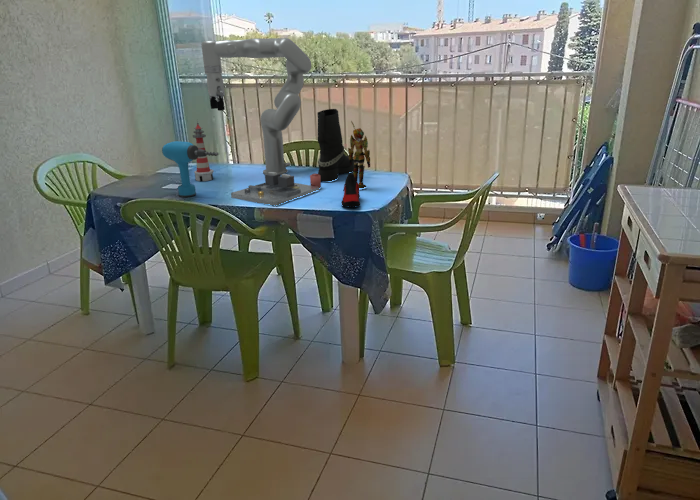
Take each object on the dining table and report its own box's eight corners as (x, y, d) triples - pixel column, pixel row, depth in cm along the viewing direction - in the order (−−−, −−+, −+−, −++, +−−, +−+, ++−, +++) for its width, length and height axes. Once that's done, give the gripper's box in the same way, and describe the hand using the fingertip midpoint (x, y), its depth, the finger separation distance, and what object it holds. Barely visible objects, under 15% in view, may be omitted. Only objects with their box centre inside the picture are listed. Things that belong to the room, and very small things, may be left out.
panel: (276, 183, 240) (275, 176, 239) (319, 191, 226) (319, 183, 225) (231, 197, 219) (230, 189, 218) (275, 206, 205) (275, 198, 203)
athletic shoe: (340, 211, 198) (340, 181, 194) (342, 197, 217) (341, 169, 213) (360, 211, 198) (360, 180, 194) (360, 196, 217) (359, 169, 213)
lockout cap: (315, 186, 234) (314, 172, 231) (322, 188, 231) (322, 173, 229) (308, 189, 230) (307, 174, 228) (316, 190, 228) (315, 175, 225)
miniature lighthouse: (217, 177, 255) (210, 115, 244) (210, 181, 246) (203, 117, 235) (199, 177, 256) (191, 115, 245) (192, 181, 247) (183, 118, 236)
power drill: (229, 196, 220) (223, 142, 212) (216, 201, 213) (210, 145, 204) (176, 191, 230) (169, 139, 222) (163, 196, 223) (155, 142, 214)
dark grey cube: (273, 182, 234) (272, 170, 233) (281, 183, 232) (280, 172, 230) (265, 184, 231) (264, 173, 229) (273, 185, 228) (272, 174, 226)
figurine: (373, 188, 229) (373, 119, 218) (366, 192, 223) (366, 122, 212) (352, 185, 234) (351, 118, 223) (345, 189, 228) (343, 120, 217)
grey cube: (286, 184, 230) (285, 172, 228) (294, 185, 227) (293, 174, 225) (278, 186, 226) (277, 175, 224) (286, 188, 224) (286, 176, 222)
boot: (360, 170, 267) (362, 105, 255) (331, 185, 237) (332, 112, 225) (339, 167, 272) (340, 103, 259) (308, 181, 242) (307, 110, 230)
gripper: (227, 70, 225) (232, 110, 231) (215, 69, 238) (219, 107, 245) (211, 71, 221) (215, 111, 227) (199, 70, 235) (204, 108, 241)
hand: (217, 109), depth 236 cm, fingers open, 9 cm apart
